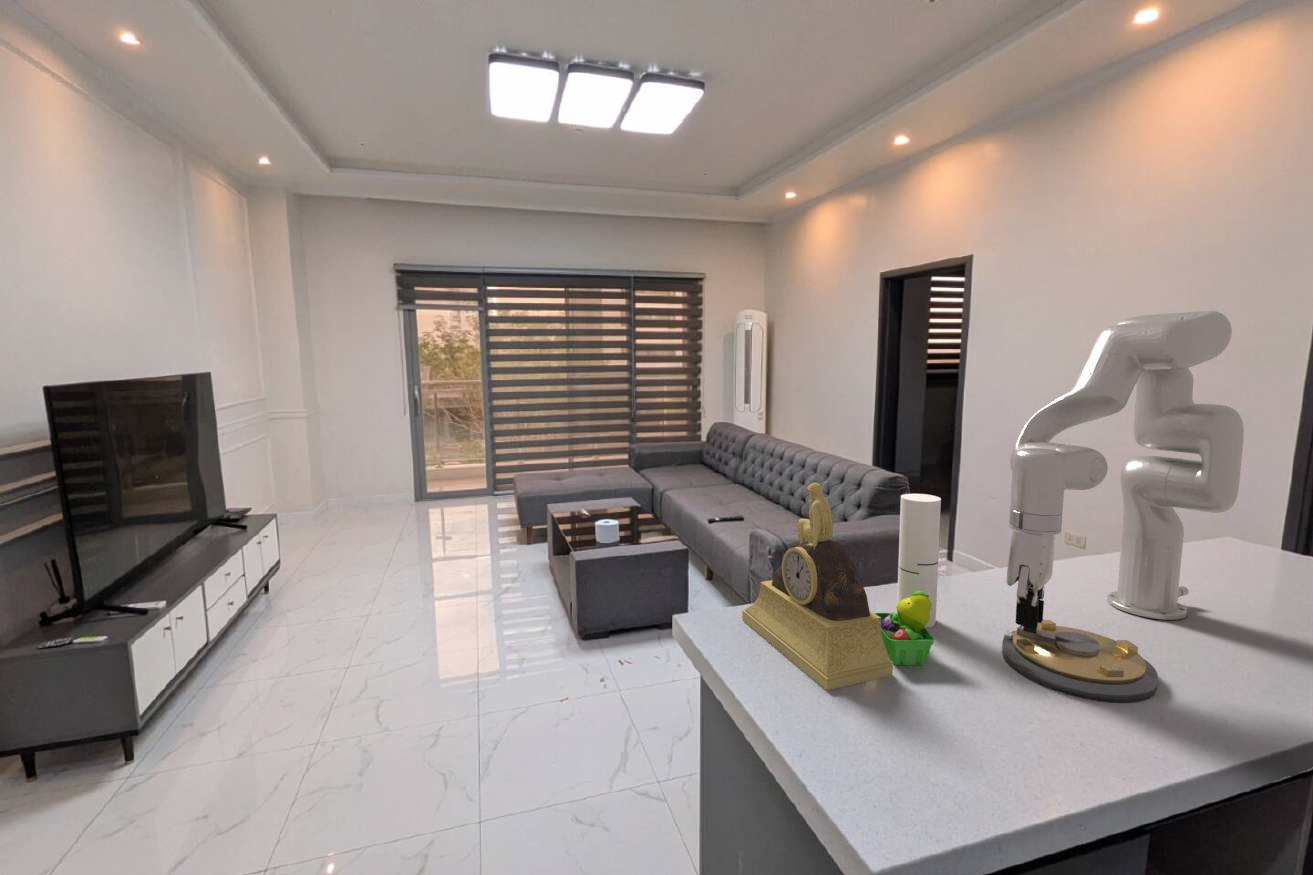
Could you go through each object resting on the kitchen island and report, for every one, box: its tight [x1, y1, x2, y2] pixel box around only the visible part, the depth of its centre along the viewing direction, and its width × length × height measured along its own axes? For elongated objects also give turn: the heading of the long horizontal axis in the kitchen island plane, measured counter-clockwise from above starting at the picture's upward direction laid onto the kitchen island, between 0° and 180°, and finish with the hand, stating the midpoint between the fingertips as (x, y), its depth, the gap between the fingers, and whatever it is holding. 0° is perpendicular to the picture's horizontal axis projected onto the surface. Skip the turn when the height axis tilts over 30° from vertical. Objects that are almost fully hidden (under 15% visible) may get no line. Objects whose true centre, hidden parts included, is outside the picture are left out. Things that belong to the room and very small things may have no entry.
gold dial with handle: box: [1013, 593, 1146, 684], centre depth 97 cm, size 18×18×8 cm
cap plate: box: [1001, 630, 1159, 704], centre depth 98 cm, size 21×21×3 cm
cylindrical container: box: [896, 493, 942, 629], centre depth 116 cm, size 7×7×25 cm
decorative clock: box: [741, 482, 894, 691], centre depth 106 cm, size 28×13×30 cm, turn 20°
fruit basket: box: [873, 591, 935, 666], centre depth 103 cm, size 11×9×11 cm
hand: (1029, 622), depth 102 cm, fingers closed on gold dial with handle, 2 cm apart
